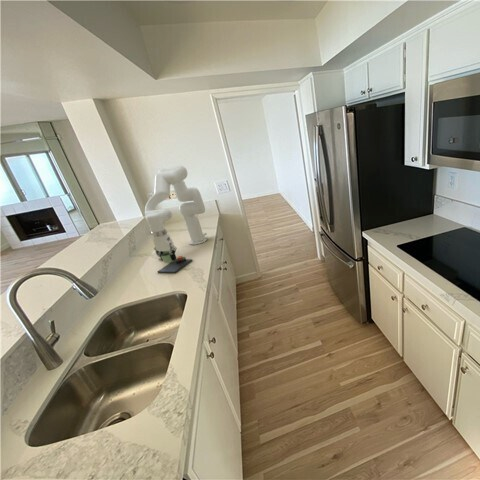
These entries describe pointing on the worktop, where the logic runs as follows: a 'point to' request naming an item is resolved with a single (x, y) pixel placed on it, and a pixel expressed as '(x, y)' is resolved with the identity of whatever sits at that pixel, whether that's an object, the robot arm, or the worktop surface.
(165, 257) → the bowl
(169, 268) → the scale
